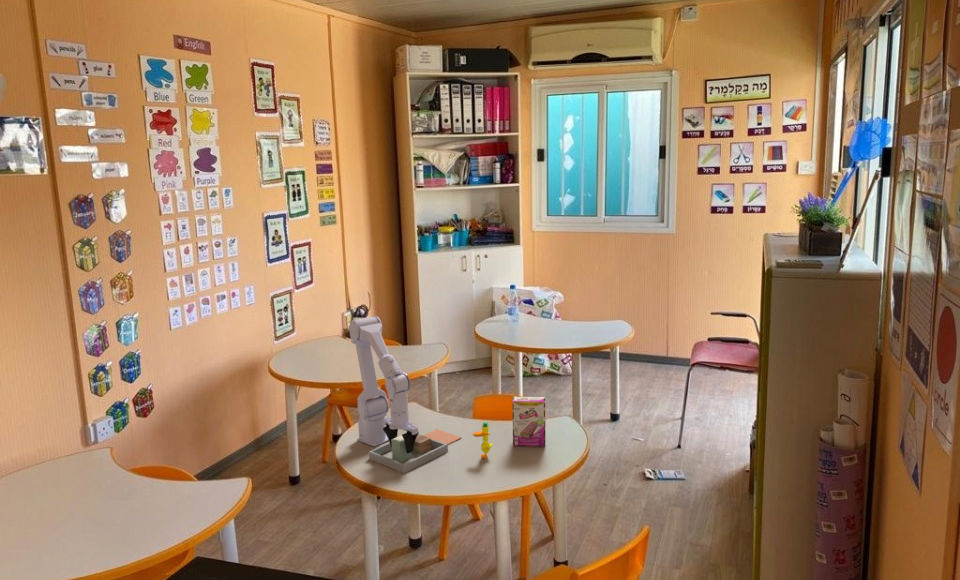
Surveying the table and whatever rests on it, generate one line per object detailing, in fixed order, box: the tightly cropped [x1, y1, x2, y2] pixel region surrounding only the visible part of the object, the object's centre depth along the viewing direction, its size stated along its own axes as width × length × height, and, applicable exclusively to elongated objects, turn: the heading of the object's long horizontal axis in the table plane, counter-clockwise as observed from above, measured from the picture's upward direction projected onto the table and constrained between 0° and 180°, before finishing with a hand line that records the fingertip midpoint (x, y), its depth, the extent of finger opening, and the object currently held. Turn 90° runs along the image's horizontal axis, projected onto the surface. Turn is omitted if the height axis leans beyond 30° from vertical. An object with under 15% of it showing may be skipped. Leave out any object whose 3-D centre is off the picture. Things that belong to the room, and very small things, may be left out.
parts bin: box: [368, 433, 449, 474], centre depth 231 cm, size 17×20×2 cm
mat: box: [423, 429, 462, 446], centre depth 244 cm, size 12×9×1 cm
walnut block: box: [413, 434, 432, 455], centre depth 235 cm, size 5×5×4 cm
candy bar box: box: [512, 396, 547, 448], centre depth 235 cm, size 11×5×16 cm, turn 84°
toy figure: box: [472, 421, 494, 459], centre depth 227 cm, size 7×4×12 cm, turn 100°
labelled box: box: [391, 434, 413, 463], centre depth 228 cm, size 4×5×7 cm
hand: (401, 449), depth 228 cm, fingers open, 7 cm apart
